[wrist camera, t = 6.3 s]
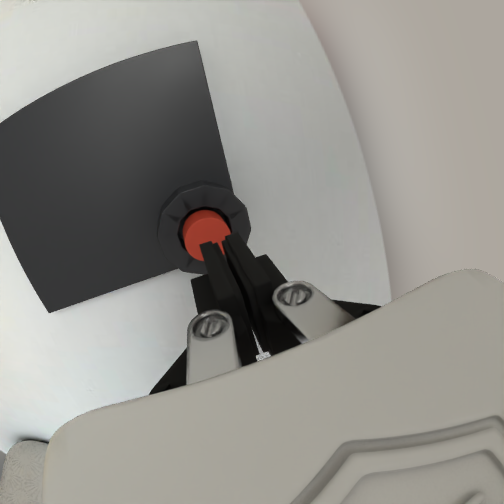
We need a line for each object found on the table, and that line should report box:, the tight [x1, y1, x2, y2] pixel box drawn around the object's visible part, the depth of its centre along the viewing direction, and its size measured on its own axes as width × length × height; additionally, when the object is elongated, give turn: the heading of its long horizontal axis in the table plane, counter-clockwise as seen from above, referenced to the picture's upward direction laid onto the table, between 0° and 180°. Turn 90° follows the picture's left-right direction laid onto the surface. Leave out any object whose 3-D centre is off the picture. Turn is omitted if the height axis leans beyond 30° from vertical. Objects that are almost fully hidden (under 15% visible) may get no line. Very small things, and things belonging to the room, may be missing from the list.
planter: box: [0, 440, 48, 504], centre depth 19 cm, size 17×17×15 cm
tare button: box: [183, 210, 231, 261], centre depth 16 cm, size 3×3×2 cm
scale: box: [0, 41, 251, 313], centre depth 15 cm, size 16×14×3 cm
